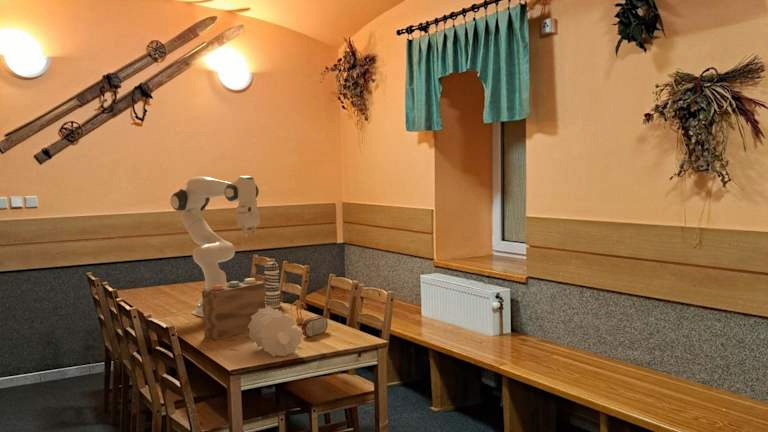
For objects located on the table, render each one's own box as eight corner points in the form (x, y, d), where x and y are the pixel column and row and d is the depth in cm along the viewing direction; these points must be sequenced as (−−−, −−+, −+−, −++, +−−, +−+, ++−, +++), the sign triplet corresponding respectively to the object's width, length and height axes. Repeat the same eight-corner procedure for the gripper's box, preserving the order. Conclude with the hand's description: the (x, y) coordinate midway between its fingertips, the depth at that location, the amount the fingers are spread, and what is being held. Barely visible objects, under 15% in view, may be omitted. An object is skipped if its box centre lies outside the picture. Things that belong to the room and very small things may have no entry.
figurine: (293, 325, 339) (292, 301, 338) (289, 323, 344) (288, 299, 344) (309, 323, 342) (308, 300, 342) (305, 321, 348) (304, 298, 347)
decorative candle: (278, 308, 384) (276, 263, 382) (262, 307, 386) (260, 263, 384) (283, 304, 393) (281, 261, 391) (268, 304, 395) (266, 261, 393)
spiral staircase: (275, 369, 280) (257, 352, 302) (311, 344, 287) (290, 330, 309) (255, 333, 275) (237, 319, 297) (291, 309, 281) (272, 296, 303)
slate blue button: (226, 287, 330) (226, 282, 330) (234, 286, 334) (234, 281, 333) (233, 288, 327) (233, 283, 326) (241, 286, 331) (241, 281, 330)
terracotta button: (209, 291, 322) (209, 286, 322) (218, 289, 326) (218, 284, 326) (216, 292, 319) (216, 286, 319) (225, 290, 323) (224, 285, 323)
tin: (324, 331, 326) (323, 313, 325) (329, 332, 324) (328, 314, 323) (301, 338, 314) (300, 320, 314) (306, 339, 312) (305, 320, 312)
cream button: (242, 284, 338) (242, 279, 337) (250, 282, 342) (250, 277, 341) (249, 285, 335) (249, 280, 334) (257, 283, 339) (256, 278, 338)
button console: (204, 336, 323) (202, 290, 321) (252, 323, 347) (250, 280, 345) (218, 339, 317) (215, 292, 315) (266, 326, 341) (264, 282, 339)
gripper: (250, 206, 356) (252, 233, 357) (233, 209, 336) (235, 237, 337) (262, 206, 355) (263, 233, 356) (245, 209, 335) (247, 237, 336)
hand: (249, 235), depth 346 cm, fingers open, 8 cm apart
